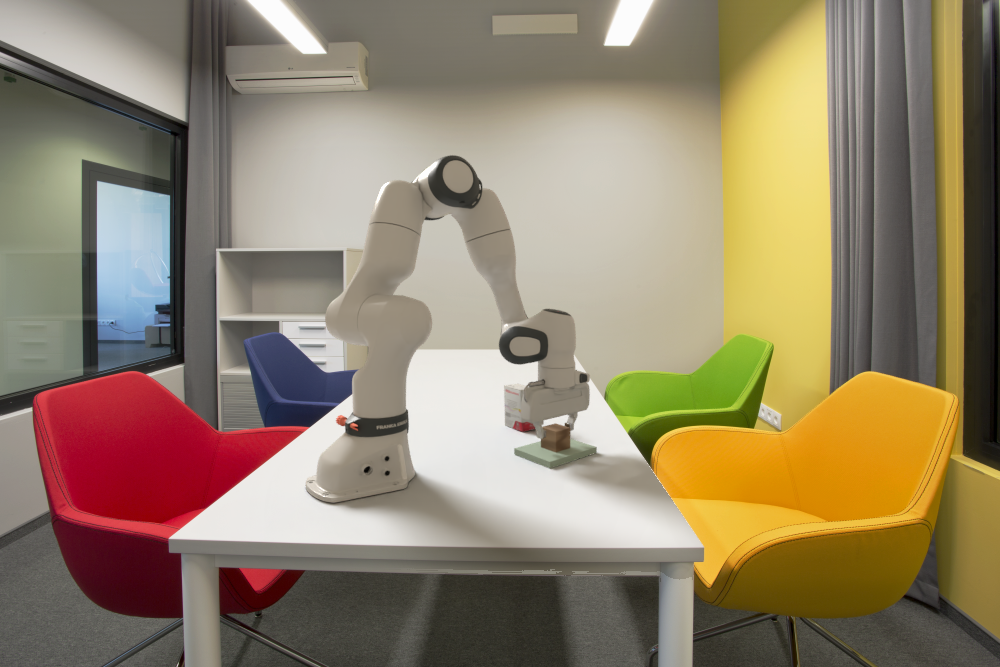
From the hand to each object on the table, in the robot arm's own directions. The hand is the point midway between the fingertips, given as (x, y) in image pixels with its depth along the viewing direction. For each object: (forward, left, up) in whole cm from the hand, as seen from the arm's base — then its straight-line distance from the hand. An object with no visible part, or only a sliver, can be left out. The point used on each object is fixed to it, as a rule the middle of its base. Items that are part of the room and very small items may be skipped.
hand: (555, 434), depth 130 cm
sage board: (0, 0, -5) cm, 5 cm away
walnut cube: (0, 0, -3) cm, 3 cm away
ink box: (+8, +22, -5) cm, 24 cm away
